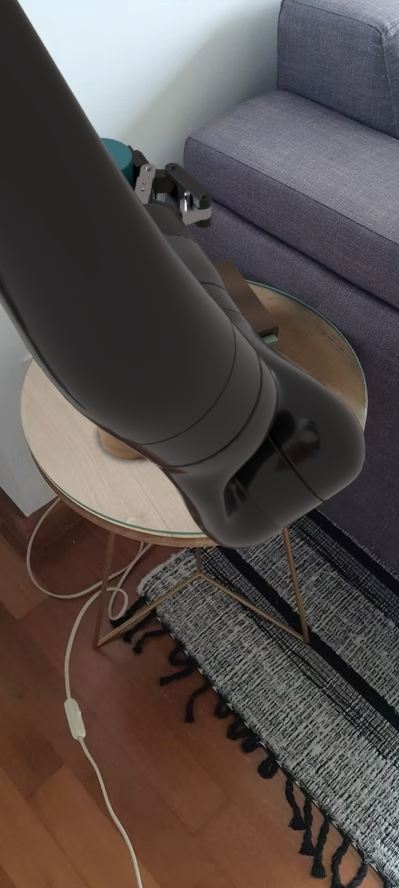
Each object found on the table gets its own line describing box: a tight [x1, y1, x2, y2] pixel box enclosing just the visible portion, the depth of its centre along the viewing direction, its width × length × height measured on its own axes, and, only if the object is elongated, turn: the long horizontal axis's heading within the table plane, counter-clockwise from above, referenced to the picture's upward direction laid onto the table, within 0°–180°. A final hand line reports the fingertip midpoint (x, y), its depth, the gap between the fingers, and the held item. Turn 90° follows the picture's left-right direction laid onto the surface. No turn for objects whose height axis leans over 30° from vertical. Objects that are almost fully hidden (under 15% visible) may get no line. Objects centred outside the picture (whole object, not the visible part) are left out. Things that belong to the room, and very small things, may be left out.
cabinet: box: [212, 258, 280, 339], centre depth 85 cm, size 14×13×9 cm
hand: (88, 165), depth 57 cm, fingers closed on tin, 6 cm apart
